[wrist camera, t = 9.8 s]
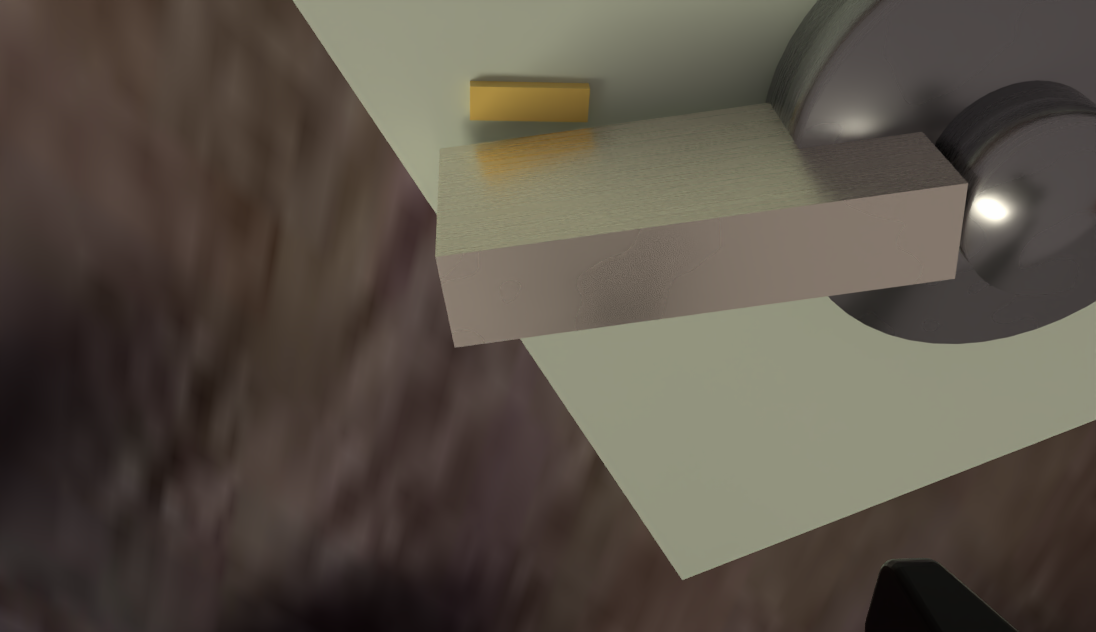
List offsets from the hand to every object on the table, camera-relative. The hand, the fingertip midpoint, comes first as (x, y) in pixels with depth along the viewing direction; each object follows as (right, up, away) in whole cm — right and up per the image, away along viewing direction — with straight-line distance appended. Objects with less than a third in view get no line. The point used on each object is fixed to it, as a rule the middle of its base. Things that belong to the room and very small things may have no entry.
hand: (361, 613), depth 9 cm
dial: (+6, +6, +9) cm, 12 cm away
